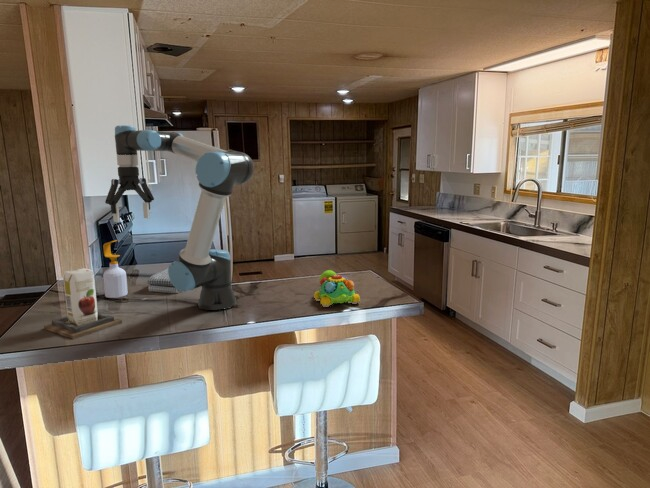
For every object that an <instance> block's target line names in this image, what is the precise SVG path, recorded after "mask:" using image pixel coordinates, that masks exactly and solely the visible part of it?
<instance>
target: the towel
mask: <svg viewBox="0 0 650 488" xmlns="http://www.w3.org/2000/svg"><path fill="white" fill-rule="evenodd" d="M168 268H169V267H167V268H165V269H163V270H161V271H158V272H156V273H155V274H153V275H151V276H150V277H149V278H148V280H147V284H148V288H147V290H148V291H149V292H151V293H152V292H153V293H167V294H179V293H181V292H182V291H180V290H178V289H177V288H175V287H174V286H173V284H172V283H171V280H170V279H169V275H168Z"/></svg>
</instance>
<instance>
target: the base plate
mask: <svg viewBox="0 0 650 488" xmlns="http://www.w3.org/2000/svg"><path fill="white" fill-rule="evenodd" d="M97 312H98V317H97V321H93V322H90V323H87V324H84V325H81V326H75V325H72V324H70V323H69V320H68V317H67V315H66V316H64V317H59V318H56V319H53V320H51V322H50V323H48V324H44V325H43V329H44V330H45V331H49V332H51V333H56V334H58V335H60V336H63V337H66V338H69V339H71V340H75V339H78V338H81V337H83V336H87V335H90V334H92V333H95V332H98V331H99V332H100V331H102V330H105V329H108V328H111V327H114V326H117V325H120V324H122V323H123V320H122V319H121V318H118V317H115V316H113V315H109V314H106V313H103V312H100V311H97Z"/></svg>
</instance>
